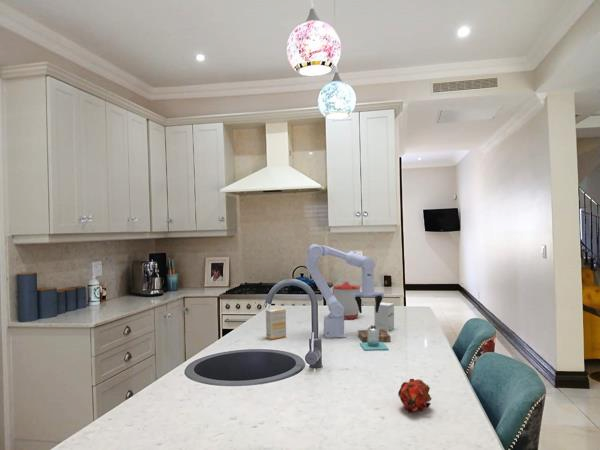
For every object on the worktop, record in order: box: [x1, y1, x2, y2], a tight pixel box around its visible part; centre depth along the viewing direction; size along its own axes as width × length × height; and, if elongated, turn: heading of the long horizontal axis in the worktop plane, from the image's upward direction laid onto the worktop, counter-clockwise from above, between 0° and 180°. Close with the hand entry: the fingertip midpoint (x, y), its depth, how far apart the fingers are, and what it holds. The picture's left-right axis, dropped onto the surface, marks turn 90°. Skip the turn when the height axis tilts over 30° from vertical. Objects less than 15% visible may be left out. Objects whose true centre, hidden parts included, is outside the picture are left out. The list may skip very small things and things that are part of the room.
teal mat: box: [359, 342, 389, 352], centre depth 180 cm, size 10×10×1 cm
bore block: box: [357, 329, 392, 343], centre depth 193 cm, size 12×12×2 cm
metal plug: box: [366, 325, 379, 347], centre depth 181 cm, size 5×5×8 cm
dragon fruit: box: [397, 378, 432, 413], centre depth 119 cm, size 8×8×12 cm
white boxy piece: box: [373, 301, 395, 333], centre depth 211 cm, size 7×7×13 cm
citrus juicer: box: [332, 281, 361, 320], centre depth 239 cm, size 16×17×20 cm
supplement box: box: [265, 307, 287, 341], centre depth 197 cm, size 8×5×13 cm, turn 124°
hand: (368, 312), depth 200 cm, fingers open, 7 cm apart
